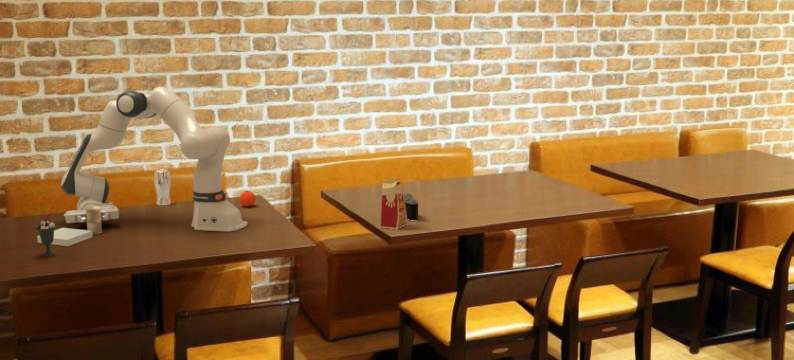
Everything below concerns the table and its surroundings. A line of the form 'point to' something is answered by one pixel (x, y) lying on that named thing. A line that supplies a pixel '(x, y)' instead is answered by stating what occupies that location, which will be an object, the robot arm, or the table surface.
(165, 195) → the beer glass
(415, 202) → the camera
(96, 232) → the beech block
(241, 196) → the clementine
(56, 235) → the trivet
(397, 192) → the milk carton
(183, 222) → the table surface
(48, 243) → the sundae
